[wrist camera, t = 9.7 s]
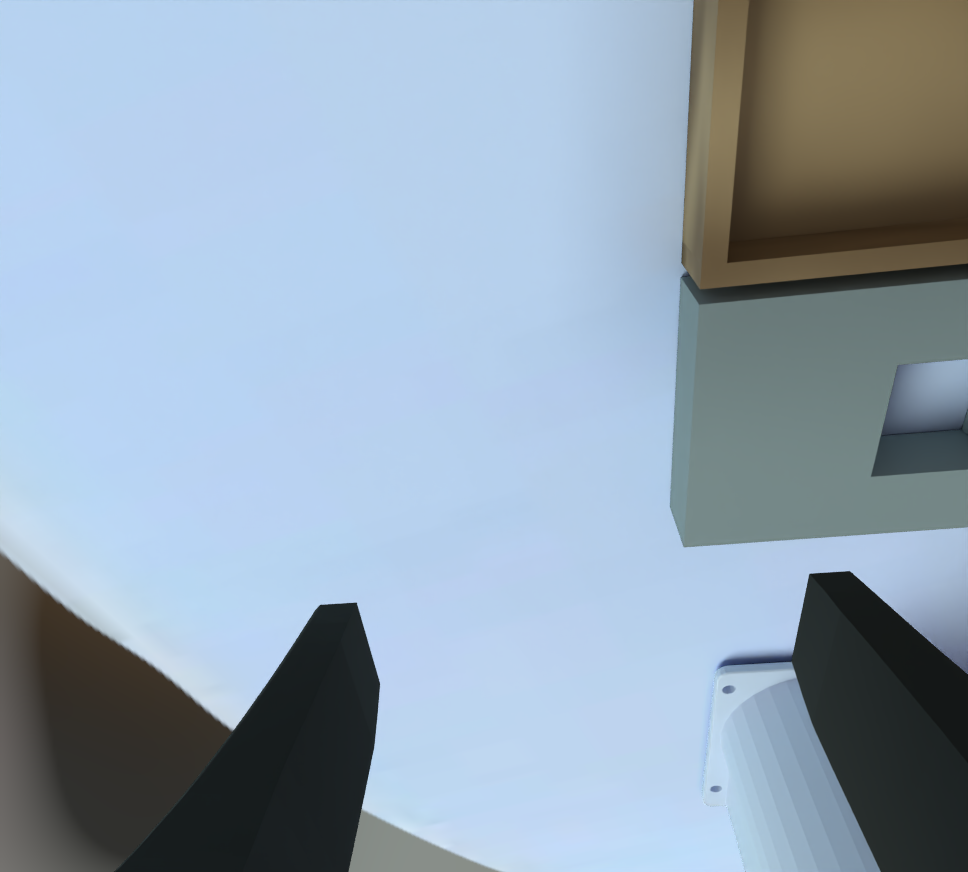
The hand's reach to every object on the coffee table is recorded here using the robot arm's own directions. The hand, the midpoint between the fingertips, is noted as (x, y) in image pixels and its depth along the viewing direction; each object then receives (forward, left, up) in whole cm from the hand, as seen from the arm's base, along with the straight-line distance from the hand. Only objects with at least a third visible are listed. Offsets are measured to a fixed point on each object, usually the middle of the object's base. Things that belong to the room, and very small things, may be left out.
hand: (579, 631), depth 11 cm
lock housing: (-2, -11, -10) cm, 15 cm away
